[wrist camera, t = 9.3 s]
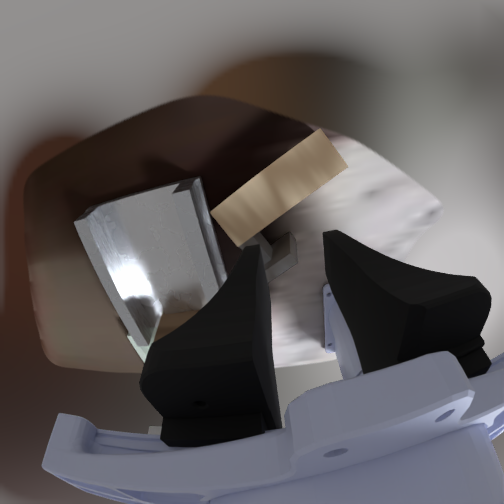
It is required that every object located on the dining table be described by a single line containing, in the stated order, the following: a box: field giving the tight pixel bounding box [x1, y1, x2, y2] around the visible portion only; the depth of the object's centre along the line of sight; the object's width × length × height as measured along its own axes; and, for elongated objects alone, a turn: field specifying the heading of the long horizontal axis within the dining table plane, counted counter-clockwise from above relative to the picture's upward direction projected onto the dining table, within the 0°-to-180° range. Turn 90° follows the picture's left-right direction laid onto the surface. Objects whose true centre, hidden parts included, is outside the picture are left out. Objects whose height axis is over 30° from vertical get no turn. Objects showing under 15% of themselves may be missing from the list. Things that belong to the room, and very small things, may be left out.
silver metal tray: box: [74, 176, 228, 347], centre depth 22 cm, size 13×10×3 cm
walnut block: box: [153, 310, 199, 342], centre depth 25 cm, size 4×4×4 cm
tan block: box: [210, 129, 348, 283], centre depth 19 cm, size 6×5×9 cm
